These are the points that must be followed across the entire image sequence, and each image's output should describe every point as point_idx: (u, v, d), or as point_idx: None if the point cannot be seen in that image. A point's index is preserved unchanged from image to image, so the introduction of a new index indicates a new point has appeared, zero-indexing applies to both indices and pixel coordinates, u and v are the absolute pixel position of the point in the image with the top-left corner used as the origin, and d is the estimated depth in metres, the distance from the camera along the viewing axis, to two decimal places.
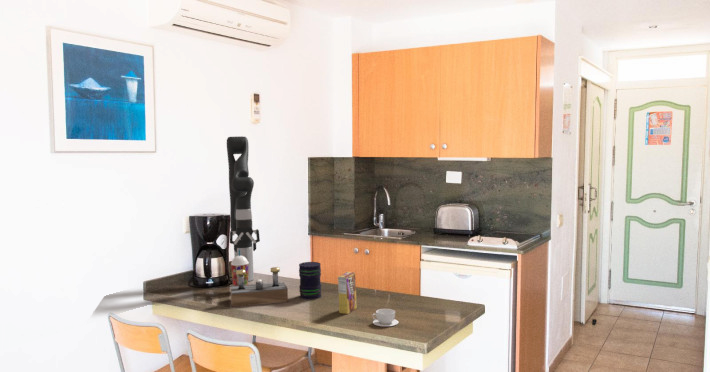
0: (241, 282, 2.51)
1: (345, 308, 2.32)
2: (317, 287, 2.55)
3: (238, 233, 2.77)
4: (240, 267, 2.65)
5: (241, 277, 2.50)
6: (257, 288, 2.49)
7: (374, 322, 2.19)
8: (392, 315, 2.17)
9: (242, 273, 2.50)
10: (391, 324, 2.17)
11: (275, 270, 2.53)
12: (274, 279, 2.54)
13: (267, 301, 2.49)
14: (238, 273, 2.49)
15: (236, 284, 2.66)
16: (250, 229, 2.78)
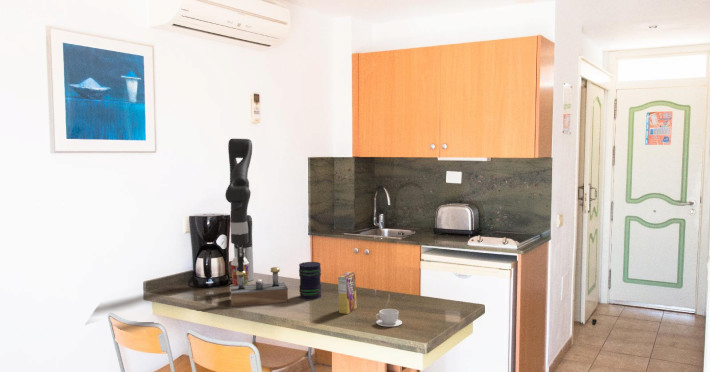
0: (241, 283, 2.51)
1: (345, 308, 2.32)
2: (317, 287, 2.55)
3: (242, 251, 2.48)
4: None
5: (241, 278, 2.50)
6: (257, 288, 2.49)
7: (378, 322, 2.19)
8: (396, 315, 2.16)
9: (242, 274, 2.50)
10: (395, 324, 2.17)
11: (275, 270, 2.53)
12: (274, 279, 2.54)
13: (267, 301, 2.49)
14: (238, 274, 2.49)
15: (236, 284, 2.66)
16: None
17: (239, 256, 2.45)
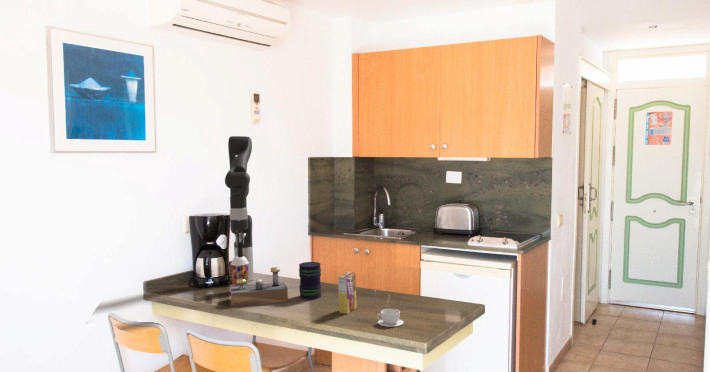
0: None
1: (345, 308, 2.32)
2: (317, 287, 2.55)
3: (242, 237, 2.48)
4: (240, 267, 2.65)
5: (241, 286, 2.51)
6: (257, 288, 2.49)
7: (379, 322, 2.19)
8: (397, 315, 2.16)
9: (242, 282, 2.50)
10: (396, 324, 2.16)
11: (275, 270, 2.53)
12: (274, 279, 2.54)
13: (267, 301, 2.49)
14: (238, 282, 2.50)
15: (236, 284, 2.66)
16: None
17: (238, 242, 2.45)
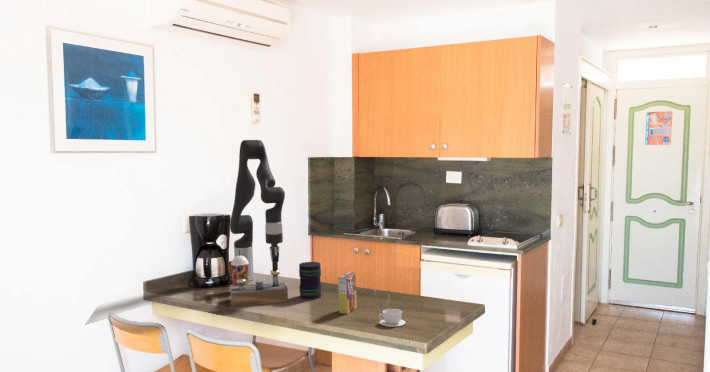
0: None
1: (345, 308, 2.32)
2: (317, 287, 2.55)
3: (277, 251, 2.52)
4: (240, 267, 2.65)
5: (241, 286, 2.51)
6: (257, 288, 2.49)
7: (381, 322, 2.19)
8: (399, 315, 2.16)
9: (242, 282, 2.50)
10: (398, 324, 2.16)
11: (275, 273, 2.53)
12: (274, 282, 2.54)
13: (267, 301, 2.49)
14: (238, 282, 2.50)
15: (236, 284, 2.66)
16: None
17: (274, 256, 2.49)
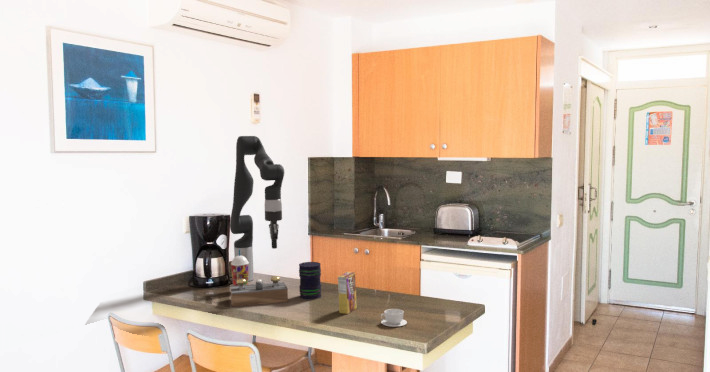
0: None
1: (345, 308, 2.32)
2: (317, 287, 2.55)
3: (276, 228, 2.51)
4: (240, 267, 2.65)
5: (241, 286, 2.51)
6: (257, 288, 2.49)
7: (382, 322, 2.19)
8: (400, 315, 2.16)
9: (242, 282, 2.50)
10: (399, 324, 2.16)
11: (275, 279, 2.53)
12: None
13: (267, 301, 2.49)
14: (238, 282, 2.50)
15: (236, 284, 2.66)
16: None
17: (273, 233, 2.48)
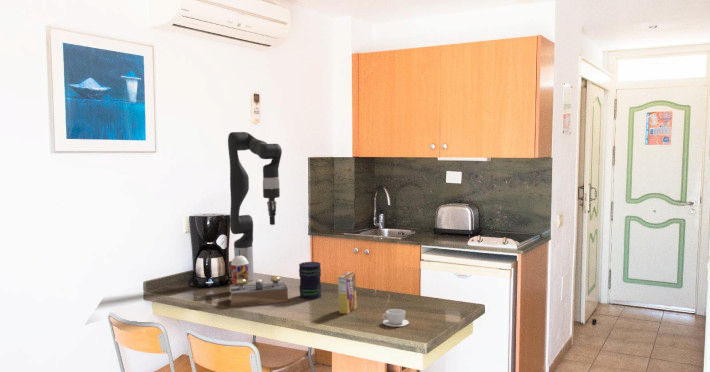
0: None
1: (345, 308, 2.32)
2: (317, 287, 2.55)
3: (274, 205, 2.61)
4: (240, 267, 2.65)
5: (241, 286, 2.51)
6: (257, 288, 2.49)
7: (384, 322, 2.19)
8: (402, 315, 2.16)
9: (242, 282, 2.50)
10: (401, 324, 2.16)
11: (275, 279, 2.53)
12: None
13: (267, 301, 2.49)
14: (238, 282, 2.50)
15: (236, 284, 2.66)
16: None
17: (271, 209, 2.58)
